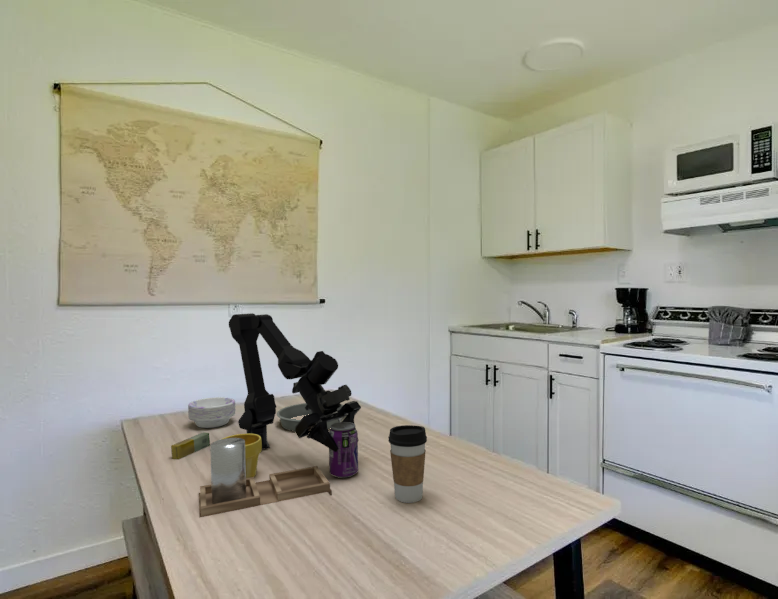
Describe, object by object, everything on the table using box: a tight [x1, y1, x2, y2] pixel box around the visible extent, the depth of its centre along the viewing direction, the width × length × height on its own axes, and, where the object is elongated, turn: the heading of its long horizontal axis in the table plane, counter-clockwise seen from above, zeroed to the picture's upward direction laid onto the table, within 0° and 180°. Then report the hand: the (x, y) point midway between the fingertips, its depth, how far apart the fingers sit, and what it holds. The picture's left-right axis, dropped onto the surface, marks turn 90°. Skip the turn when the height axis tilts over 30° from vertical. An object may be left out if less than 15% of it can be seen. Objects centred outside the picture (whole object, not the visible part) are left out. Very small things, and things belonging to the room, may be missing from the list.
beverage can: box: [328, 422, 359, 479], centre depth 111 cm, size 7×7×12 cm
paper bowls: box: [187, 396, 236, 429], centre depth 156 cm, size 15×15×8 cm
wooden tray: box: [198, 465, 333, 518], centre depth 100 cm, size 12×27×2 cm, turn 113°
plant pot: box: [221, 433, 263, 478], centre depth 109 cm, size 10×10×10 cm
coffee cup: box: [388, 425, 428, 504], centre depth 98 cm, size 8×8×15 cm
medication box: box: [170, 432, 211, 460], centre depth 129 cm, size 12×3×4 cm, turn 159°
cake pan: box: [276, 402, 344, 432], centre depth 156 cm, size 25×25×4 cm
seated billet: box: [209, 438, 246, 504], centre depth 97 cm, size 7×7×12 cm
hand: (347, 446), depth 110 cm, fingers closed on beverage can, 7 cm apart
